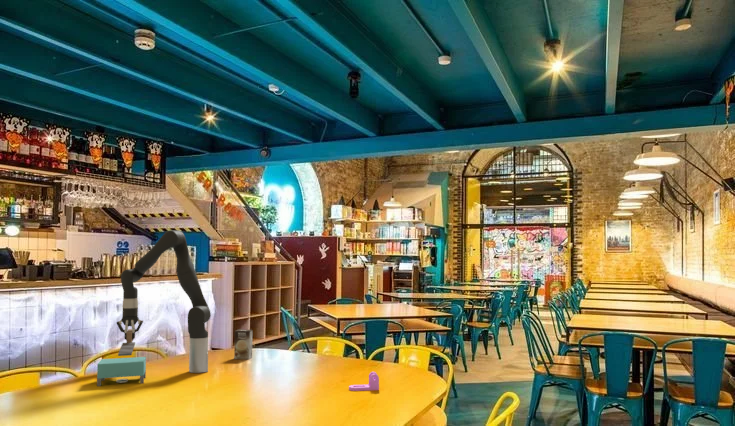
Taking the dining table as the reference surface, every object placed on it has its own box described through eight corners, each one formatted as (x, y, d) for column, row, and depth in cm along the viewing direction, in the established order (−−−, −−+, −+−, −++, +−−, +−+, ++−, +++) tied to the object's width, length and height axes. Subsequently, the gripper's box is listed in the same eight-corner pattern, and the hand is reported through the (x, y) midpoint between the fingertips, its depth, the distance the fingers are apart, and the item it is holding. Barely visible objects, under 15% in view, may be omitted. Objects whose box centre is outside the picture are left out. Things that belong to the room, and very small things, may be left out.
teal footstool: (145, 377, 291) (145, 356, 291) (143, 383, 278) (143, 361, 279) (101, 380, 285) (101, 359, 286) (97, 386, 272) (97, 364, 273)
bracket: (377, 387, 267) (377, 371, 268) (378, 390, 262) (378, 374, 262) (348, 388, 266) (348, 372, 266) (349, 391, 260) (349, 375, 260)
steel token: (128, 381, 285) (128, 378, 285) (127, 383, 280) (127, 380, 280) (117, 381, 283) (117, 379, 283) (115, 384, 278) (115, 381, 278)
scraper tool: (124, 340, 317) (124, 329, 317) (136, 340, 319) (136, 329, 318) (118, 355, 290) (118, 343, 290) (131, 355, 292) (131, 343, 292)
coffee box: (233, 359, 337) (233, 330, 338) (237, 357, 344) (237, 329, 345) (249, 359, 336) (249, 330, 337) (252, 357, 343) (252, 329, 344)
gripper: (144, 305, 320) (144, 338, 319) (117, 306, 316) (116, 339, 315) (143, 307, 313) (143, 340, 312) (115, 308, 309) (114, 341, 308)
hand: (129, 339), depth 314 cm, fingers closed on scraper tool, 2 cm apart
